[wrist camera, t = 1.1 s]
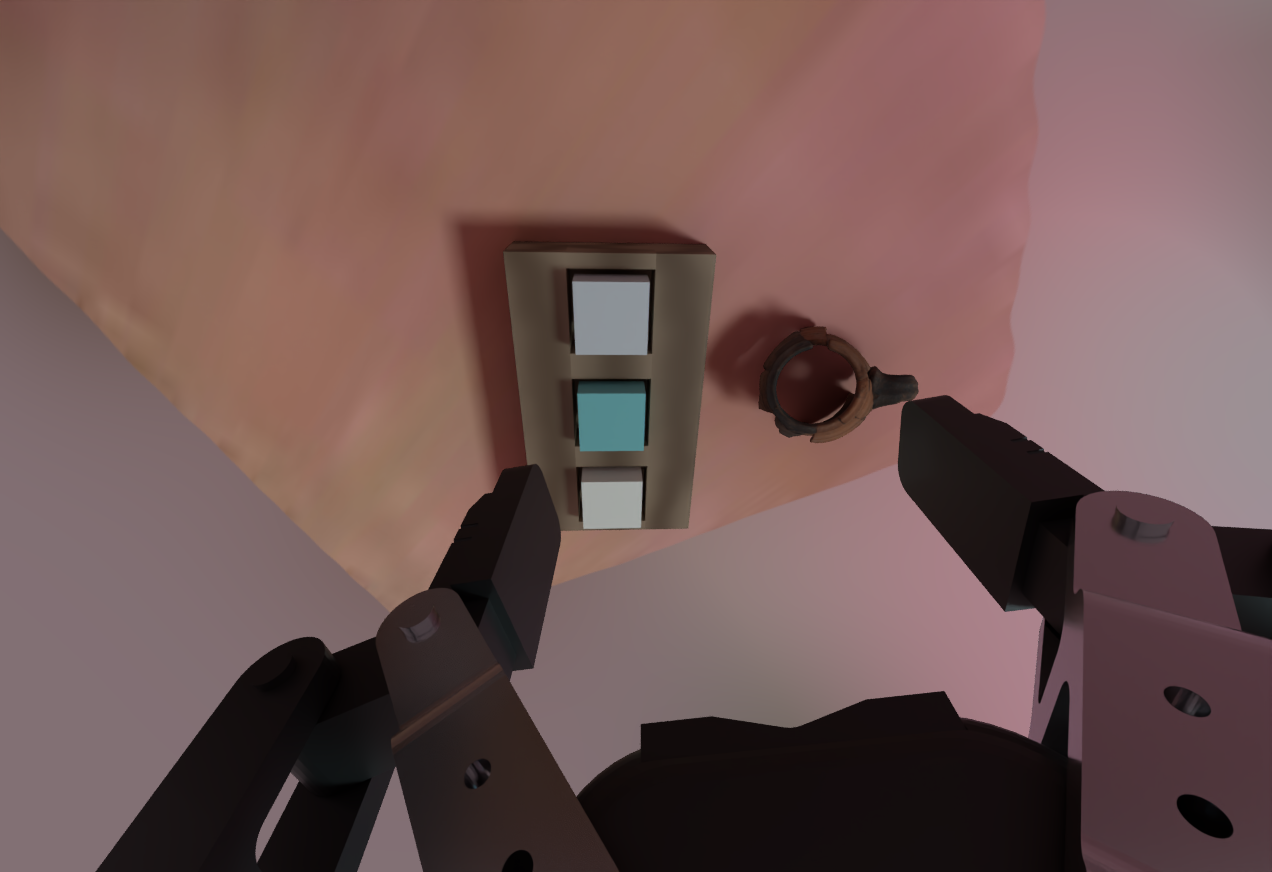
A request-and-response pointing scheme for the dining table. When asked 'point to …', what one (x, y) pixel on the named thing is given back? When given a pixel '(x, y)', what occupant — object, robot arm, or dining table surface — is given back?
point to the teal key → (611, 415)
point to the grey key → (611, 314)
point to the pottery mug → (868, 395)
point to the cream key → (611, 497)
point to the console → (612, 368)
